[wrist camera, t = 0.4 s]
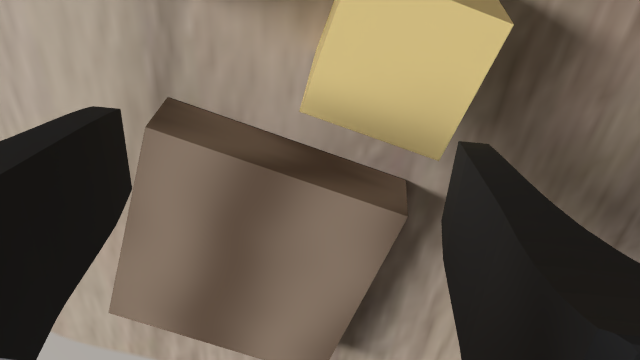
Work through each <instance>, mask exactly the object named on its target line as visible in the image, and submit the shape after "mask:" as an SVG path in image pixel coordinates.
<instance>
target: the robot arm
mask: <svg viewBox="0 0 640 360" xmlns="http://www.w3.org/2000/svg"><path fill="white" fill-rule="evenodd" d="M131 190H132V185H131V178H130V171H129V165H128V158H127V151H126V144H125V137H124V131H123V124H122V117H121V110H120V109H115V108H105V107H94V106H92V107H88V108H84V109H81V110H78V111H75V112H72V113H70V114H67V115H64V116H62V117H59V118H57V119H54V120H52V121H49V122H47V123H44V124H42V125H40V126H37V127H35V128H32V129H30V130H27V131H25V132H22V133H20V134H18V135H15V136H13V137H10V138H8V139H5V140H2V141H0V360H36V359H37V357H38V355H39V353H40V351H41V349H42V347H43V345H44V343H45V341H46V339H47V337H48V335H49V333H50V331H51V329H52V327H53V325H54V323H55V321H56V319H57V317H58V316H59V314H60V312H61V310H62V309H63V307H64V305H65V304H66V302H67V300H68V299H69V297H70V296H71V294H72V293H73V291H74V290H75V288H76V287H77V285H78V284H79V282H80V280H81V279H82V277H83V276H84V274H85V273H86V271H87V270H88V268H89V267H90V265H91V264H92V262H93V261H94V259H95V258H96V256H97V254H98V253H99V251H100V250H101V248H102V247H103V245H104V244H105V242H106V240H107V239H108V237H109V236H110V234H111V233H112V231H113V229H114V228H115V226H116V224H117V222H118V220H119V218H120V216H121V213H122V211H123V209H124V207H125V204H126V202H127V200H128V197H129V195H130V192H131ZM442 246H443V261H444V267H445V272H446V277H447V283H448V288H449V294H450V299H451V304H452V309H453V314H454V319H455V325H456V330H457V335H458V340H459V345H460V352H461V359H462V360H640V263H638V262H636V261H635V260H633V259H631V258H629V257H628V256H626V255H624V254H623V253H621V252H619V251H618V250H616V249H615V248H613V247H612V246H610V245H609V244H607V243H606V242H604V241H603V240H601V239H600V238H598V237H597V236H595V235H594V234H592V233H591V232H589V231H588V230H586V229H585V228H584V227H582V226H581V225H579V224H578V223H577V222H575V221H574V220H573V219H572V218H570V217H569V216H568V215H567V214H565V213H564V212H563V211H562V210H560V209H559V208H558V207H557V206H555V205H554V204H553V203H552V202H551V201H549V200H548V199H547V198H546V197H545V196H544V195H543V194H541V193H540V192H539V191H538V190H537V189H536V188H535V187H534V186H533V185H531V184H530V183H529V182H528V181H527V180H526V179H525V178H524V177H523V176H522V175H521V174H520V173H519V172H518V171H517V170H516V169H515V168H514V167H513V166H511V165H510V164H509V163H508V162H507V161H506V160H505V159H504V158H503V157H502V156H501V155H500V154H499V153H498V152H497V151H496V150H495V149H494V148H492V147H491V146H490V145H489V144H482V143H471V142H461V141H458V146H457V151H456V155H455V160H454V165H453V169H452V174H451V179H450V183H449V188H448V193H447V197H446V202H445V207H444V211H443V216H442Z"/></svg>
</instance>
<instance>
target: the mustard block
mask: <svg viewBox="0 0 640 360" xmlns="http://www.w3.org/2000/svg"><path fill="white" fill-rule="evenodd" d="M513 25H514V24H513V22H512V21H511V19H510V18H509V16H508V14H507V13H506V11H505V10H504V8H503V6H502V5H501V3H500V2H499V0H334V2H333V5H332V8H331V11H330V14H329V16H328V19H327V22H326V25H325V27H324V30H323V33H322V36H321V39H320V41H319V44H318V47H317V50H316V53H315V56H314V60H313V64H312V67H311V71H310V75H309V78H308V82H307V86H306V89H305V93H304V97H303V100H302V104H301V108H300V111H299V112H302V113H305V114H308V115H310V116H313V117H316V118H319V119H322V120H325V121H327V122H330V123H333V124H336V125H339V126H341V127H344V128H347V129H350V130H353V131H356V132H358V133H361V134H364V135H367V136H370V137H372V138H375V139H378V140H381V141H384V142H387V143H389V144H392V145H395V146H398V147H401V148H403V149H406V150H409V151H412V152H415V153H418V154H420V155H423V156H426V157H429V158H432V159H435V160H437V161H439V160H440V158H441V156H442V154H443V152H444V151H445V149H446V147H447V145H448V143H449V142H450V140H451V138H452V136H453V134H454V133H455V131H456V129H457V127H458V125H459V123H460V122H461V120H462V118H463V116H464V114H465V113H466V111H467V109H468V107H469V105H470V103H471V102H472V100H473V98H474V96H475V94H476V93H477V91H478V89H479V87H480V85H481V83H482V82H483V80H484V78H485V76H486V74H487V73H488V71H489V69H490V67H491V65H492V64H493V62H494V60H495V58H496V56H497V54H498V53H499V51H500V49H501V47H502V45H503V44H504V42H505V40H506V38H507V36H508V34H509V33H510V31H511V29H512V27H513Z"/></svg>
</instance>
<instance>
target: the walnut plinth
mask: <svg viewBox="0 0 640 360" xmlns="http://www.w3.org/2000/svg"><path fill="white" fill-rule="evenodd" d="M407 218H408V207H407V192H406V180H404V179H401V178H398V177H395V176H392V175H389V174H386V173H383V172H381V171H378V170H375V169H372V168H369V167H366V166H363V165H361V164H358V163H355V162H352V161H349V160H346V159H343V158H340V157H338V156H335V155H332V154H329V153H326V152H323V151H320V150H317V149H315V148H312V147H309V146H306V145H303V144H300V143H297V142H295V141H292V140H289V139H286V138H283V137H280V136H277V135H274V134H272V133H269V132H266V131H263V130H260V129H257V128H254V127H251V126H249V125H246V124H243V123H240V122H237V121H234V120H231V119H228V118H226V117H223V116H220V115H217V114H214V113H211V112H208V111H206V110H203V109H200V108H197V107H194V106H191V105H188V104H185V103H183V102H180V101H177V100H174V99H171V98H168V97H167V99H166V100H165V101H164V103H163V104H162V105H161V107H160V108H159V109H158V111H157V112H156V114H155V115H154V116H153V118H152V119H151V120H150V122H149V123H148V124H147V126H146V127H145V132H144V137H143V142H142V147H141V152H140V157H139V162H138V167H137V172H136V177H135V182H134V187H133V192H132V197H131V202H130V207H129V212H128V218H127V223H126V228H125V233H124V238H123V243H122V248H121V253H120V258H119V263H118V268H117V273H116V278H115V283H114V288H113V293H112V298H111V303H110V309H109V313H111V314H114V315H117V316H121V317H124V318H127V319H131V320H134V321H137V322H141V323H144V324H147V325H150V326H154V327H157V328H160V329H164V330H167V331H170V332H174V333H177V334H180V335H183V336H187V337H190V338H193V339H197V340H200V341H203V342H207V343H210V344H213V345H216V346H220V347H223V348H226V349H230V350H233V351H236V352H239V353H243V354H246V355H249V356H253V357H256V358H259V359H263V360H329V359H330V357H331V356H332V354H333V352H334V350H335V348H336V347H337V345H338V343H339V341H340V339H341V338H342V336H343V334H344V332H345V330H346V328H347V327H348V325H349V323H350V321H351V319H352V318H353V316H354V314H355V312H356V310H357V309H358V307H359V305H360V303H361V301H362V299H363V298H364V296H365V294H366V292H367V290H368V289H369V287H370V285H371V283H372V281H373V280H374V278H375V276H376V274H377V272H378V270H379V269H380V267H381V265H382V263H383V261H384V260H385V258H386V256H387V254H388V252H389V251H390V249H391V247H392V245H393V243H394V241H395V240H396V238H397V236H398V234H399V232H400V231H401V229H402V227H403V225H404V223H405V222H406V220H407Z"/></svg>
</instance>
